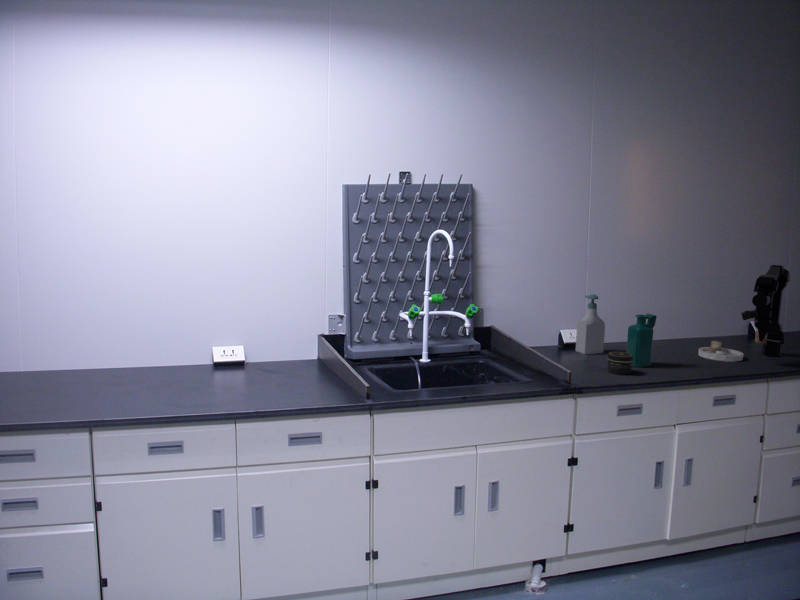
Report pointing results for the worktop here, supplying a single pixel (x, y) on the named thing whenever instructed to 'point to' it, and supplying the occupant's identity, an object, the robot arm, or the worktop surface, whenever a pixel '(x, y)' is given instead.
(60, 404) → the worktop surface
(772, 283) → the robot arm
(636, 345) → the pitcher
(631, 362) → the jar
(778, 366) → the worktop surface
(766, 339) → the bead terracotta
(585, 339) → the soap bottle
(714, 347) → the bead maple
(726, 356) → the tray
